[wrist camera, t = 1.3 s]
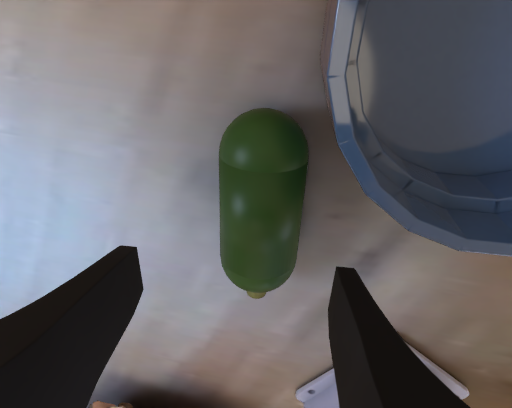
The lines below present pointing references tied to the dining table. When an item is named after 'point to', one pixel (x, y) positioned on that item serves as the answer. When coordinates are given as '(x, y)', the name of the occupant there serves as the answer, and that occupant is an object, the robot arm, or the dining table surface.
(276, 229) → the zucchini
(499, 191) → the bowl
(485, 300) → the dining table surface
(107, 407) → the baking tray
